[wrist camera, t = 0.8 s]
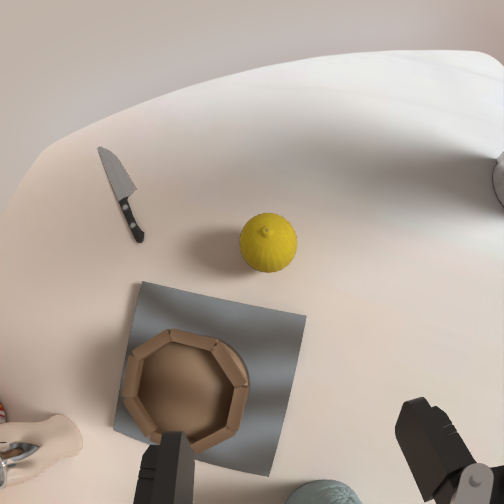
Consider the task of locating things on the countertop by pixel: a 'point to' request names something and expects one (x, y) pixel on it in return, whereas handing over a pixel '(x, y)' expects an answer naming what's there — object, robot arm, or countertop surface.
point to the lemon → (268, 242)
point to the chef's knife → (121, 188)
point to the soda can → (2, 415)
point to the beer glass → (35, 447)
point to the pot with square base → (209, 376)
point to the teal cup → (324, 493)
